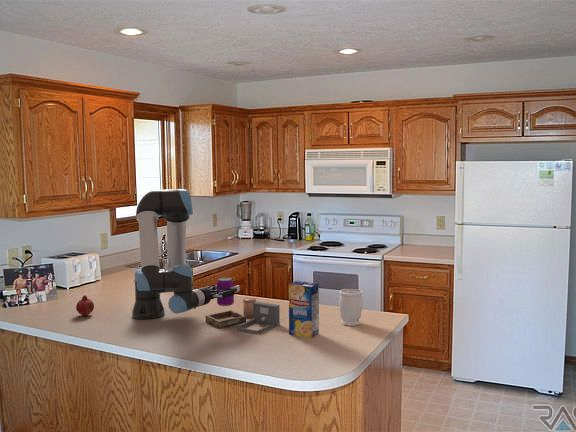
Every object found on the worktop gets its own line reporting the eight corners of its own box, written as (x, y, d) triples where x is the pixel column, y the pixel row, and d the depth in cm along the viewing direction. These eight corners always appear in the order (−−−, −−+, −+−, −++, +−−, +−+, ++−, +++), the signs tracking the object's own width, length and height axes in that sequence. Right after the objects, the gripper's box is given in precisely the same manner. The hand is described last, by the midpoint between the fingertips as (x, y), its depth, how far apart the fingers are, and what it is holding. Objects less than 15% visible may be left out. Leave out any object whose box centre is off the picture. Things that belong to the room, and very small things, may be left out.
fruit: (97, 315, 261) (96, 295, 260) (81, 318, 255) (80, 298, 254) (89, 312, 266) (88, 292, 265) (73, 315, 261) (72, 295, 259)
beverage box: (311, 338, 225) (311, 286, 222) (288, 334, 230) (288, 284, 228) (319, 333, 230) (318, 283, 228) (296, 330, 236) (296, 280, 233)
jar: (364, 321, 248) (364, 289, 246) (359, 327, 238) (360, 294, 236) (341, 319, 251) (341, 287, 250) (336, 325, 241) (336, 293, 240)
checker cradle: (235, 329, 236) (235, 310, 236) (257, 320, 250) (256, 301, 249) (258, 334, 230) (258, 314, 229) (279, 324, 244) (279, 305, 243)
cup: (240, 315, 258) (240, 299, 257) (251, 313, 262) (251, 296, 261) (248, 318, 253) (247, 301, 252) (259, 316, 257) (258, 299, 256)
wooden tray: (205, 321, 249) (205, 315, 248) (231, 316, 257) (231, 310, 257) (220, 328, 238) (220, 322, 238) (246, 322, 247) (246, 316, 247)
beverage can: (232, 306, 243) (232, 280, 242) (215, 306, 243) (215, 280, 242) (234, 302, 250) (234, 277, 249) (218, 302, 251) (217, 277, 249)
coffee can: (196, 285, 320) (195, 262, 319) (189, 290, 310) (188, 266, 309) (179, 285, 322) (179, 262, 321) (172, 289, 312) (172, 265, 311)
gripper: (181, 303, 237) (214, 292, 256) (217, 309, 226) (249, 297, 245) (181, 286, 236) (214, 276, 255) (217, 291, 225) (249, 281, 244)
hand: (231, 286), depth 250 cm, fingers closed on beverage can, 8 cm apart
